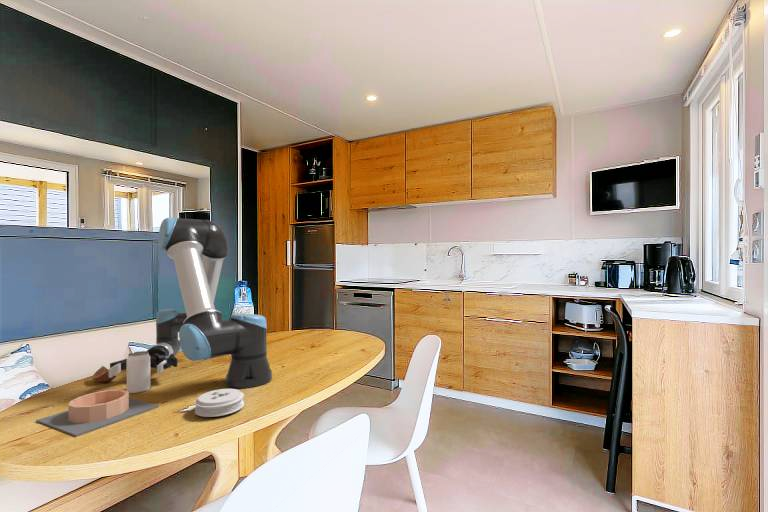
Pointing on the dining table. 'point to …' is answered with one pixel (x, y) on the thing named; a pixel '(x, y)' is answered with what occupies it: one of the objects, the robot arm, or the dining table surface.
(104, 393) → the bowl
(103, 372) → the fruit slice
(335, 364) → the dining table surface
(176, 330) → the robot arm
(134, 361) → the can
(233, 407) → the lid
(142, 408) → the mat
